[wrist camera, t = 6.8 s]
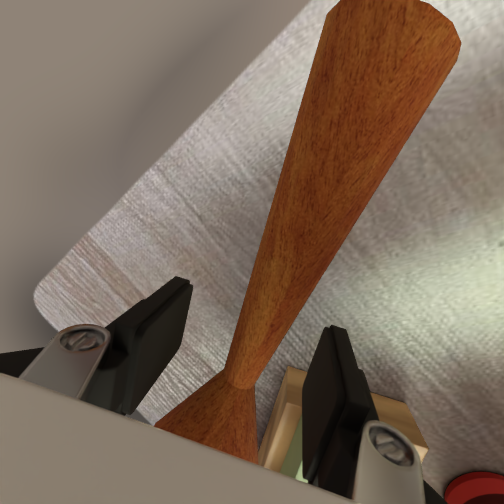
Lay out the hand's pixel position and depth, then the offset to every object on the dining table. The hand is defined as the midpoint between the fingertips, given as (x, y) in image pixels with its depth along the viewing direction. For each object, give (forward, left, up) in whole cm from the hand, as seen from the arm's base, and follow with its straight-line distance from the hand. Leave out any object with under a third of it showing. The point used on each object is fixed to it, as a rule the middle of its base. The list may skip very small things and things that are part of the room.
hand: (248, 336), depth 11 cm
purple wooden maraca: (0, 0, -1) cm, 1 cm away
